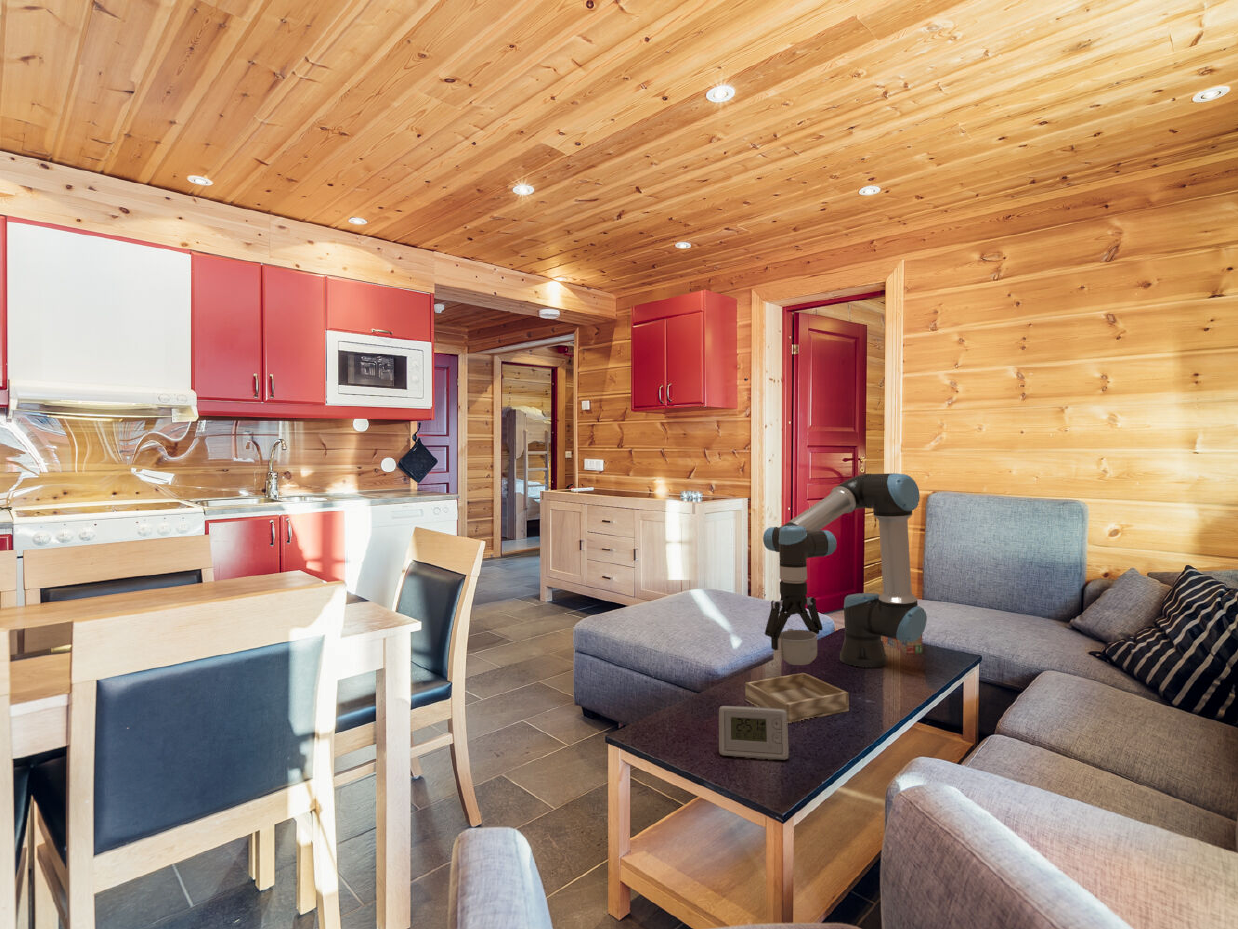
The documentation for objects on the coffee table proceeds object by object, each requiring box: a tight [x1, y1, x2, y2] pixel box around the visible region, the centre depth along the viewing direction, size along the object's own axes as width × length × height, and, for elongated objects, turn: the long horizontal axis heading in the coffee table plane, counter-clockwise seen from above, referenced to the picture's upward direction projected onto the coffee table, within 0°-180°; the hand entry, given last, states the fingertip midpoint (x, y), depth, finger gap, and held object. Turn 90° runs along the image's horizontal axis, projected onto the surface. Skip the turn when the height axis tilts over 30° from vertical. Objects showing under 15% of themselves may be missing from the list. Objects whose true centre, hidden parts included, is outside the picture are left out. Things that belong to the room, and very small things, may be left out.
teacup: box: [779, 628, 818, 666], centre depth 180 cm, size 14×11×8 cm
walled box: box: [744, 672, 850, 724], centre depth 180 cm, size 21×19×5 cm
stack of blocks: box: [881, 634, 923, 655], centre depth 237 cm, size 21×6×12 cm, turn 9°
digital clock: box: [718, 705, 790, 761], centre depth 151 cm, size 16×9×11 cm, turn 67°
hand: (794, 658), depth 180 cm, fingers closed on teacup, 11 cm apart
